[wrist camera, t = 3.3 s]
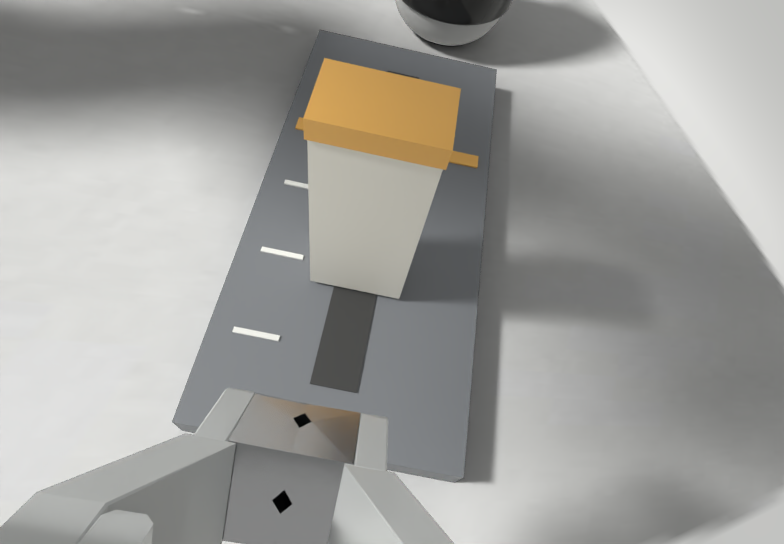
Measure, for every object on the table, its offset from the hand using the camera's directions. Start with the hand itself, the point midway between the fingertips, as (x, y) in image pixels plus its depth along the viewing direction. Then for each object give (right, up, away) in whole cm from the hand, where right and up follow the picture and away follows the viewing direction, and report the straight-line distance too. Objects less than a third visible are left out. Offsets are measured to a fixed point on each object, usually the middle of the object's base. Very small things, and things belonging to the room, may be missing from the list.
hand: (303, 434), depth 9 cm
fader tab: (0, +3, +19) cm, 19 cm away
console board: (0, +6, +23) cm, 24 cm away
